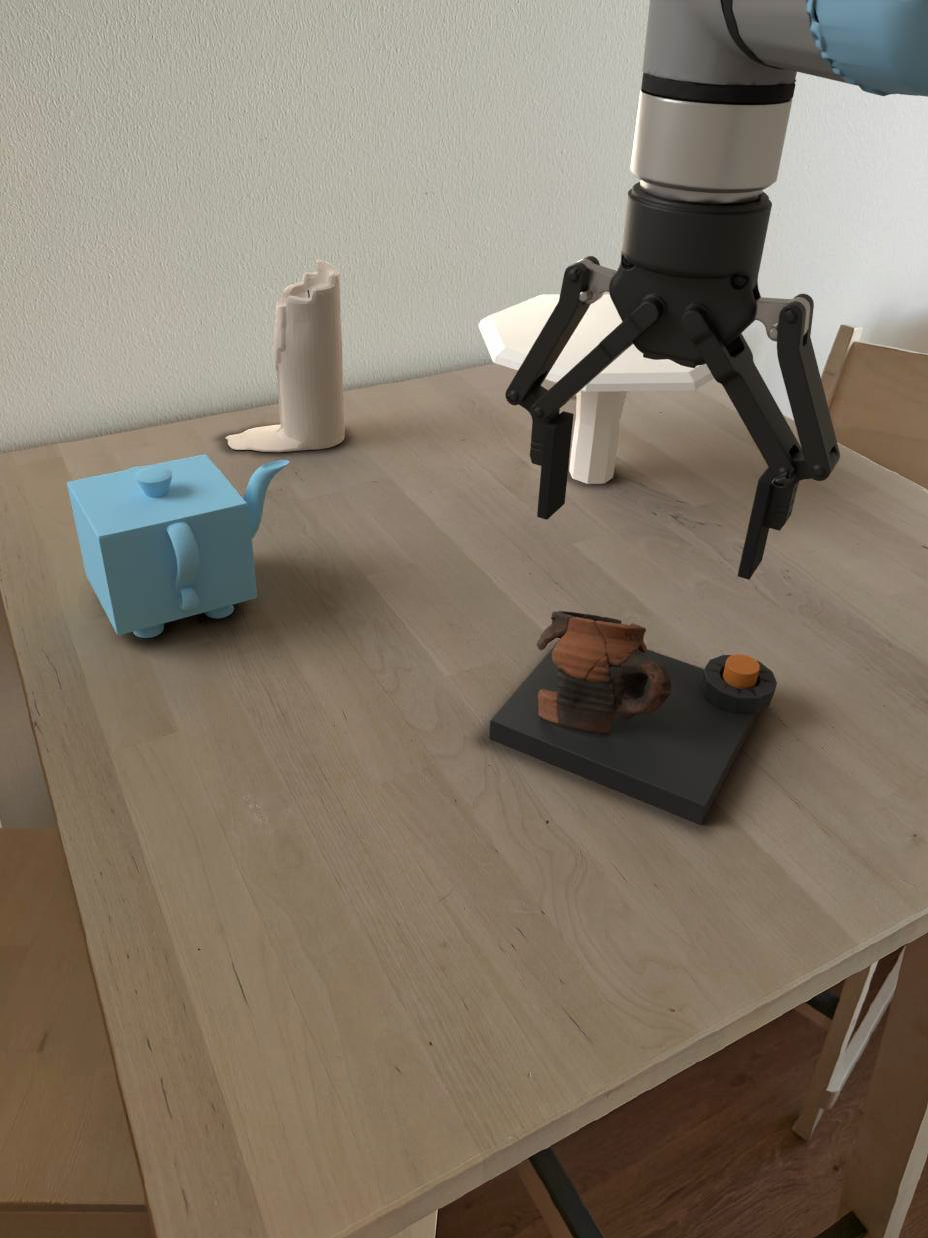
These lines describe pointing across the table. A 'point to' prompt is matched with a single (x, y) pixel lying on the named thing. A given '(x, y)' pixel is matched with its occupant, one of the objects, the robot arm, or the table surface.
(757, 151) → the robot arm
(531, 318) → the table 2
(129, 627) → the teapot
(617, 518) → the table surface
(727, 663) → the scale button
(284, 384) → the candle
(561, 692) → the pottery mug
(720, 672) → the scale
